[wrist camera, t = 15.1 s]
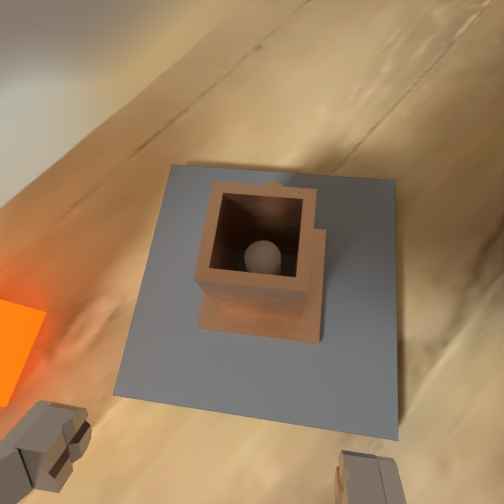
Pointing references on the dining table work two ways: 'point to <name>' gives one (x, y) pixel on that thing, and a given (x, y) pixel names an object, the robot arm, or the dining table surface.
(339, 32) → the dining table surface
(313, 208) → the copper sleeve
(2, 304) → the orange juice
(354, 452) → the robot arm
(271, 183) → the base plate
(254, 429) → the dining table surface
